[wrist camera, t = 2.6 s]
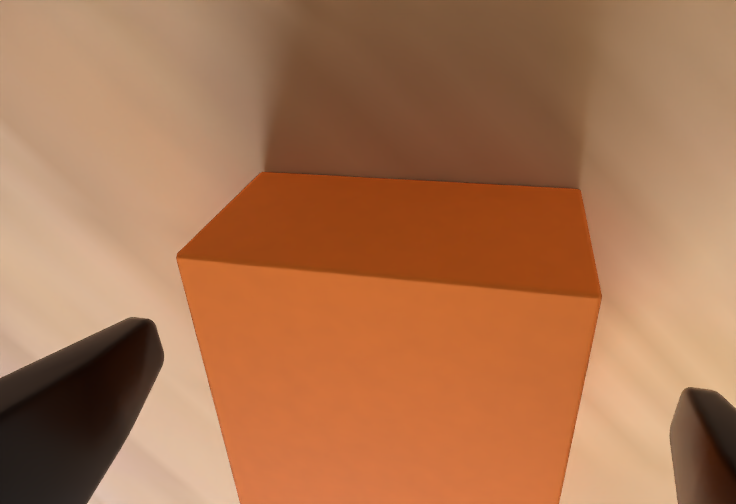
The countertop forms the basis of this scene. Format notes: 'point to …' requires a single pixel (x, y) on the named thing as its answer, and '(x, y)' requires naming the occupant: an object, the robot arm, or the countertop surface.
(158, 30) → the countertop surface
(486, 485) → the orange block
